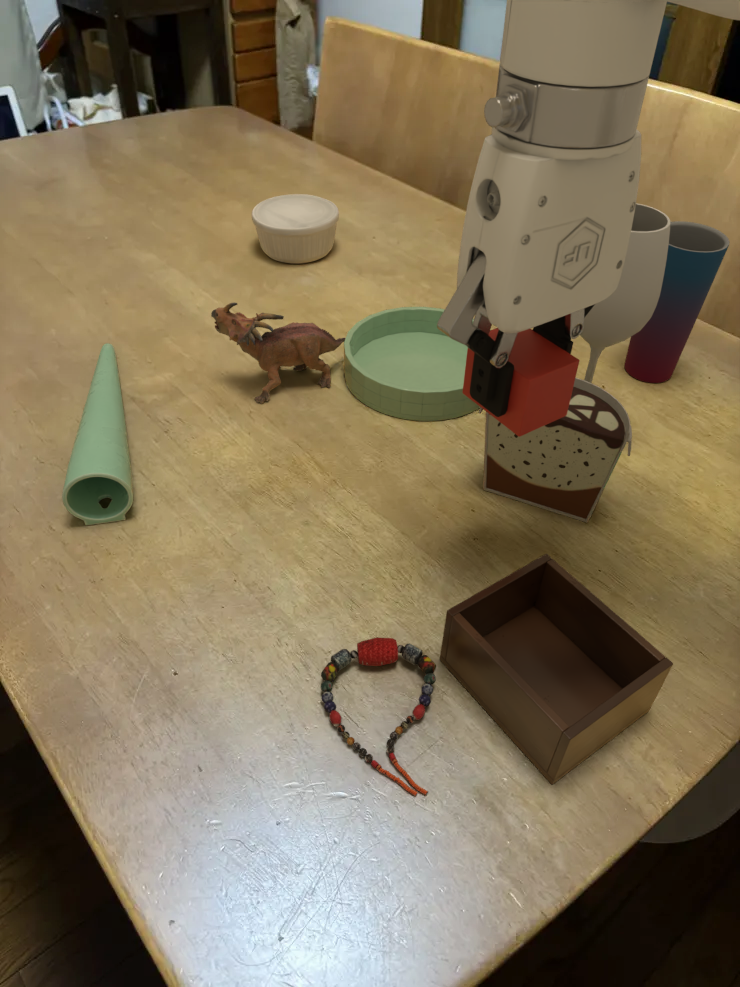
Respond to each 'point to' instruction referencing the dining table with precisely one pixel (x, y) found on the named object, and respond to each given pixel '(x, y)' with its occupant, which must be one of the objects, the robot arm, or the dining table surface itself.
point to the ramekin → (296, 227)
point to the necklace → (377, 655)
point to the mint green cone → (100, 450)
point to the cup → (677, 300)
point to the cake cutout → (560, 454)
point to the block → (533, 382)
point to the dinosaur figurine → (278, 344)
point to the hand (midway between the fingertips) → (516, 391)
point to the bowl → (407, 365)
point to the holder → (551, 664)
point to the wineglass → (631, 286)
